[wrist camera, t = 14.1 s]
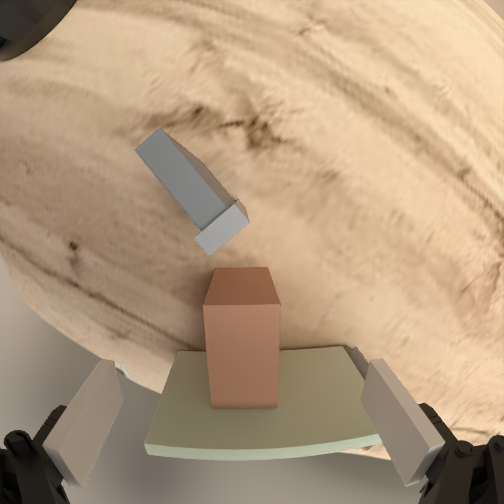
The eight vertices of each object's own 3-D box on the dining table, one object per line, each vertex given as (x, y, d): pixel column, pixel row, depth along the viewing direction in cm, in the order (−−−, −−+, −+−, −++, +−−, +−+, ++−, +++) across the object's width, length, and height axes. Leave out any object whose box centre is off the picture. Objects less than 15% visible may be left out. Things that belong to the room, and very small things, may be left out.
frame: (187, 175, 22) (124, 154, 9) (205, 159, 21) (163, 119, 9) (365, 389, 26) (418, 478, 14) (380, 378, 26) (439, 463, 13)
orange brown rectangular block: (215, 268, 23) (202, 305, 15) (267, 267, 23) (280, 303, 15) (219, 348, 24) (212, 408, 16) (267, 347, 24) (277, 407, 17)
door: (180, 370, 24) (151, 464, 13) (178, 350, 24) (143, 443, 13) (348, 364, 24) (397, 447, 14) (350, 345, 24) (406, 426, 13)
